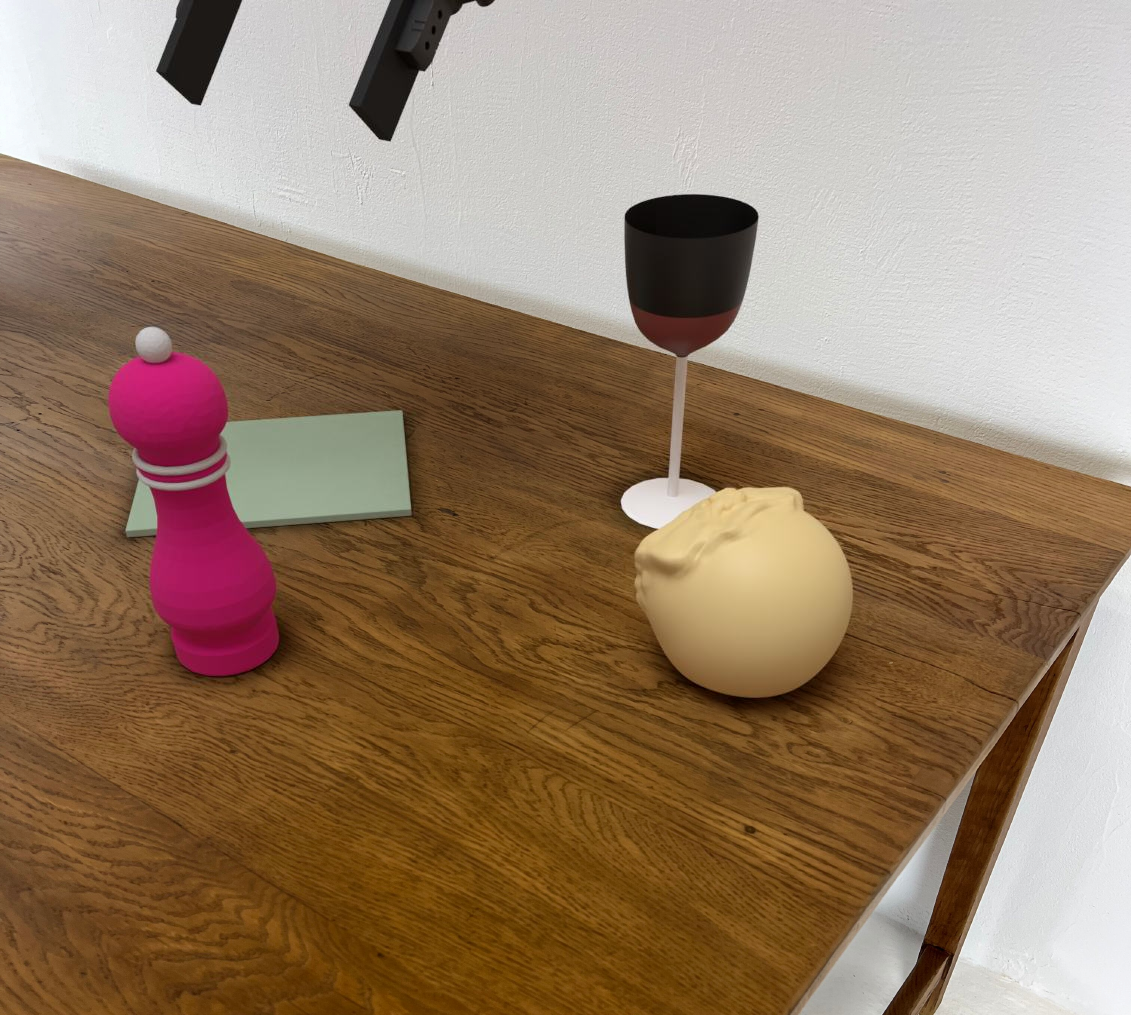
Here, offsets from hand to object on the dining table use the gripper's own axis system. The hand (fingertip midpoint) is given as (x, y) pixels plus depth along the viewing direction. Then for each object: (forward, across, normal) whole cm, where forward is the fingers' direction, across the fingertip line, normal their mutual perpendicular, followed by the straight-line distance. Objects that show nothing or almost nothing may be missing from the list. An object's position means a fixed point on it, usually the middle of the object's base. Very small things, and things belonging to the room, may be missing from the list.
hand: (269, 106), depth 59 cm
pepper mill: (+28, 0, -12) cm, 30 cm away
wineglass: (+6, -14, -34) cm, 37 cm away
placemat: (+15, +13, -25) cm, 32 cm away
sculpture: (+16, -27, -24) cm, 40 cm away
